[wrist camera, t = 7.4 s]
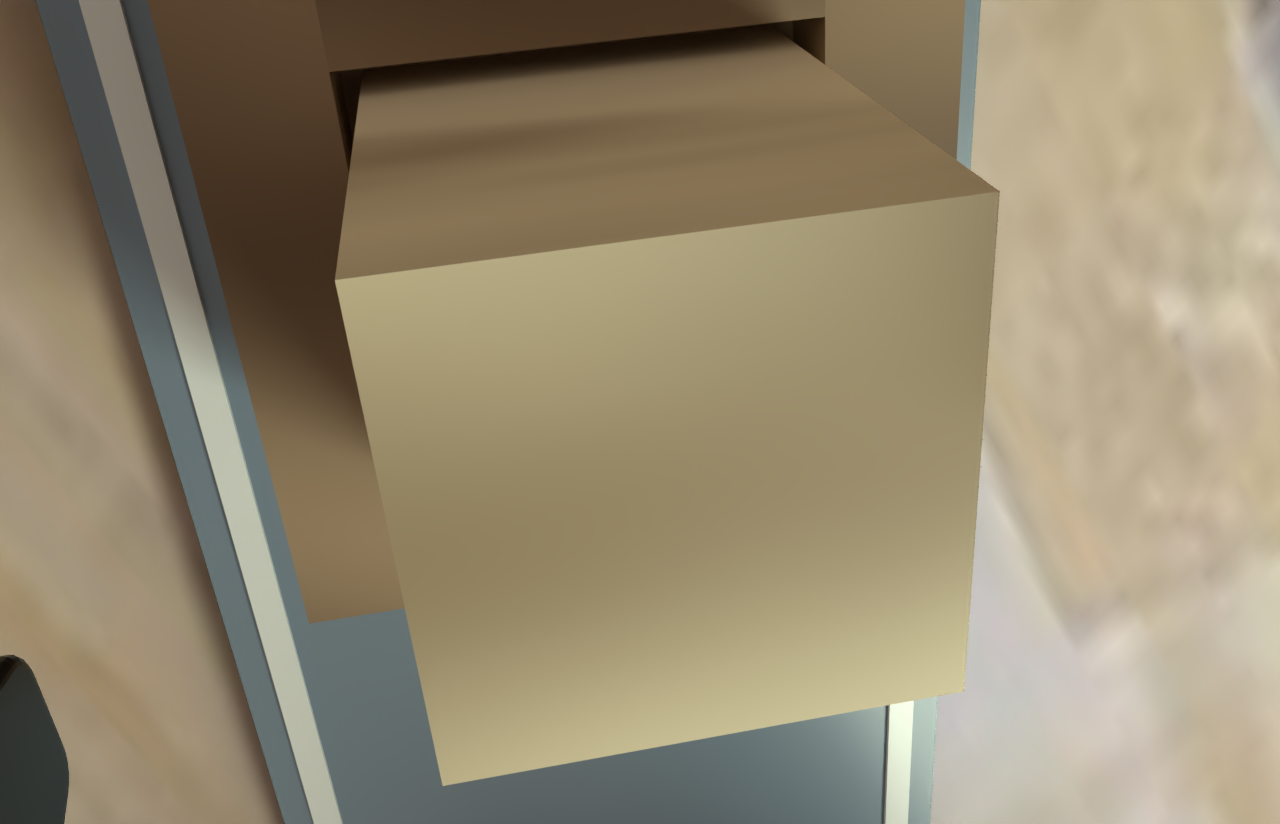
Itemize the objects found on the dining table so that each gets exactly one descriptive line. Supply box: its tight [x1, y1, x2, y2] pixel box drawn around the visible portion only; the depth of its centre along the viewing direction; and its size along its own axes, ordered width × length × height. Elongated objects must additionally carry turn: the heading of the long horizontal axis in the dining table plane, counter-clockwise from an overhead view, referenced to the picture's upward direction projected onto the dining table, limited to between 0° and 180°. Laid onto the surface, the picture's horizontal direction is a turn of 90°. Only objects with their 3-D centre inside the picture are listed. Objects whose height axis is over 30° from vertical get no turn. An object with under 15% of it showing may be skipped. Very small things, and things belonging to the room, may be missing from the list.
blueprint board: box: [36, 0, 981, 824], centre depth 21 cm, size 23×13×1 cm, turn 4°
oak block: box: [335, 25, 1000, 786], centre depth 12 cm, size 4×4×6 cm
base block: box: [147, 0, 965, 624], centre depth 16 cm, size 8×8×5 cm
